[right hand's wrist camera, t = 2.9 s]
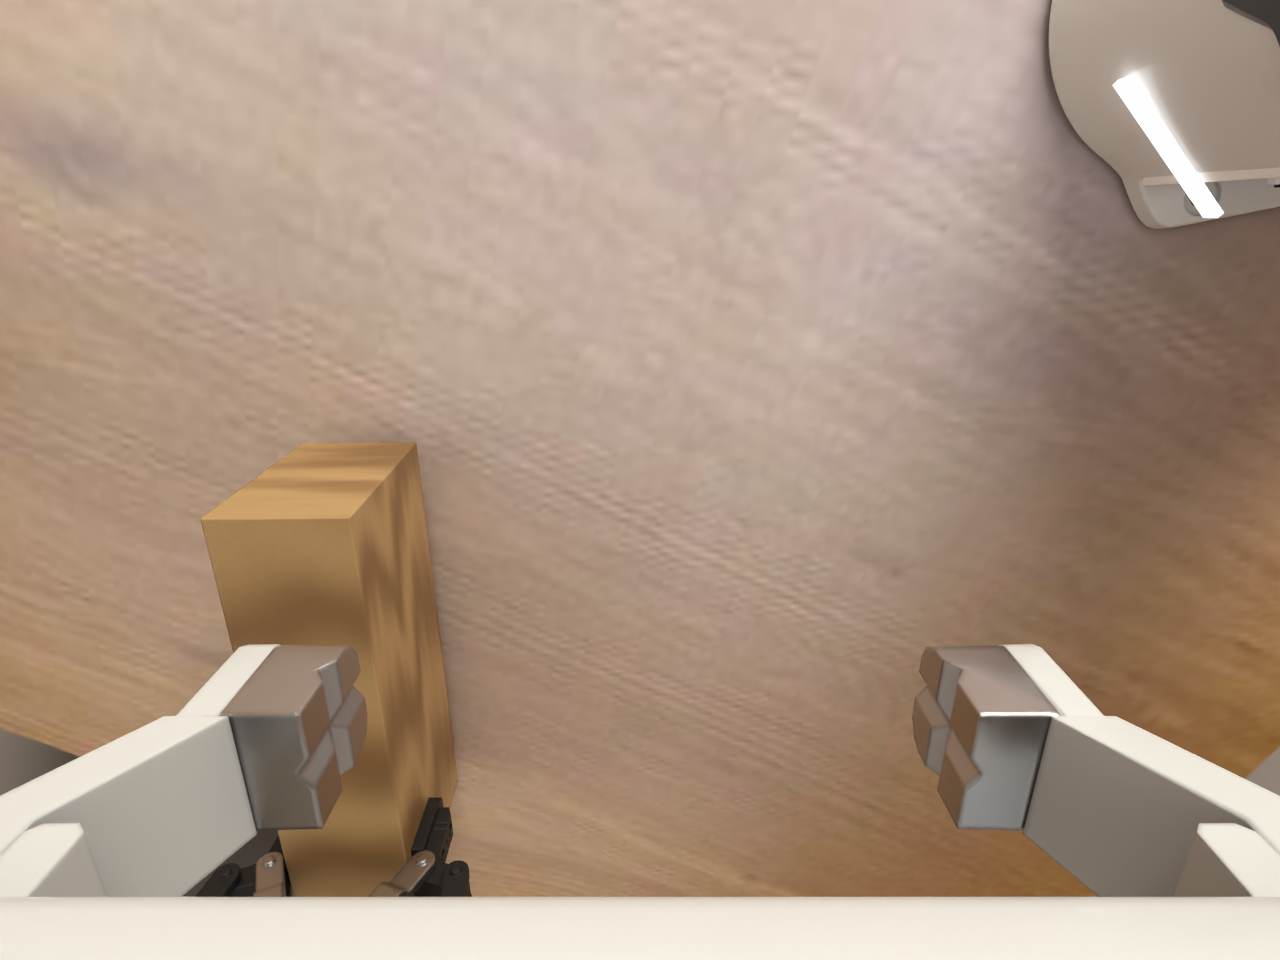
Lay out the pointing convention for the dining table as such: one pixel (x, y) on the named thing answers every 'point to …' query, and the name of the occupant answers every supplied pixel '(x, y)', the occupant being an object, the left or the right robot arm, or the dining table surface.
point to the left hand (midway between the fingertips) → (378, 810)
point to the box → (348, 637)
